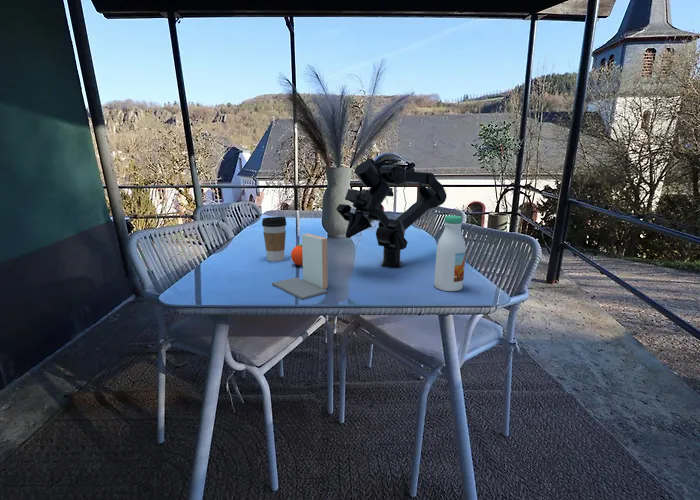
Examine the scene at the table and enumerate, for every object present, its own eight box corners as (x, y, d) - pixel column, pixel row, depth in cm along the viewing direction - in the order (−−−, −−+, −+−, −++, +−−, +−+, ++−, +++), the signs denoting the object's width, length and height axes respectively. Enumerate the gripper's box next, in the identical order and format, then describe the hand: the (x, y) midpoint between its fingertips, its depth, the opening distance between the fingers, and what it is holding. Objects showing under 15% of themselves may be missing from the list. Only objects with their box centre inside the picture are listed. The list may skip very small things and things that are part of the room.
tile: (308, 280, 106) (307, 233, 103) (327, 287, 100) (327, 238, 97) (303, 281, 105) (301, 234, 102) (321, 289, 99) (321, 239, 95)
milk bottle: (443, 293, 97) (448, 219, 92) (429, 284, 104) (433, 214, 99) (468, 290, 99) (474, 217, 94) (452, 281, 106) (458, 213, 101)
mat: (296, 279, 107) (296, 277, 107) (327, 292, 96) (327, 290, 96) (272, 284, 102) (272, 282, 102) (302, 299, 91) (302, 297, 91)
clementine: (288, 262, 125) (288, 242, 123) (308, 260, 127) (308, 241, 125) (293, 268, 117) (293, 247, 116) (314, 266, 120) (314, 246, 118)
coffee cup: (285, 262, 125) (283, 219, 121) (260, 262, 125) (258, 219, 121) (289, 256, 133) (288, 215, 129) (266, 256, 133) (264, 215, 129)
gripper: (340, 178, 114) (312, 216, 109) (384, 180, 100) (353, 224, 95) (358, 201, 121) (333, 238, 116) (401, 207, 107) (374, 248, 102)
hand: (346, 237), depth 107 cm, fingers closed
